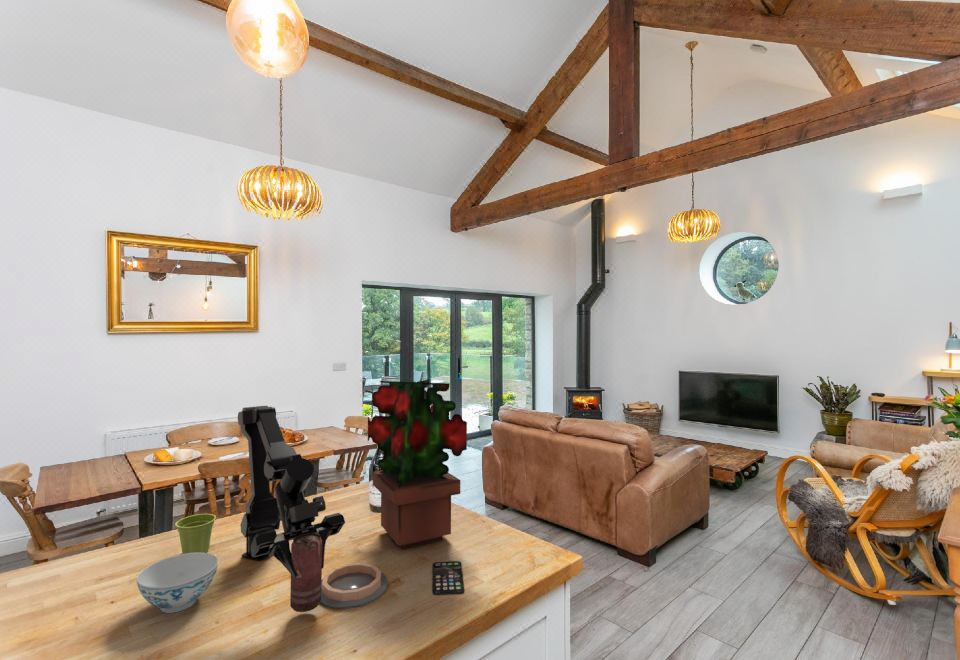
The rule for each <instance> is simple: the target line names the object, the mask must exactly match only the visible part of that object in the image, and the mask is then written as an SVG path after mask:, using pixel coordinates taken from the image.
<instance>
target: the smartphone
mask: <svg viewBox="0 0 960 660" xmlns="http://www.w3.org/2000/svg"><path fill="white" fill-rule="evenodd" d="M431 584H432V585H431V586H432V587H431V588H432V590H431V592H432V593H431V594H432V596H433V595H434V596H445V595H446V596H447V595H451V596H452V595H462V594H464V593H465V584H464V574H463V566H462V562H461V561H459V560H455V561H454V560H452V561H435V562H433V563H432V583H431Z"/></svg>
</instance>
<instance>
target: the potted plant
mask: <svg viewBox="0 0 960 660" xmlns="http://www.w3.org/2000/svg"><path fill="white" fill-rule="evenodd" d="M379 382H380V383H382V384H385V385H379V387H378V389H377V390H375V391H374V392H373V393H372V395H371V403H372V406H374V407H375V408H376V409H377V410H378V412H379V413H380V414H385V415H374V416H373V417H372V419H371V420H370V417H369V416H367V442H369V441H370V439H371V440H372V443H374V444H375V445H376V446H377V448H378V449H379V450H381V451H383V458H380V459H378V461H377V466H378V468H379V469H381V470H375V471H372V485H373V486H374V488H375V489H376V490H378V492H380V526H381V527H382V528H383V529H384V530H385V532H386V533H387V535H389V537H390V538H391V539H392V540H393V541H394V543H395V544H396V545H397V546H398V547H401V548H402V550H403V549H407V547H408V548H411V546H412V547H416V545H417V546H420V544H421V545H424V543H425V544H428V542H430V543H433V541H434V542H438V541H442V540H443V536H444V537H445V536H448V535H451V534H452V496H456V495H460V494H461V479H459V478H458V477H457V476H455V475H453V474H451V473H449V472H450V469H449V466H448V465H446V464H445V462H447V461H449V458H450V456H449V453H448V452H447V451H444V450H450V451H451V453H452V455H453V456H455V457H460V456H461V455H462V453H463V451H466V450H468V449H467V447H468V444H467V443H468V442H467V441H468V436H467V435H468V422H467V421H466V420H463V417H462V415H460V414H459V413H455V414H453V415H452V417H451V419H450V412H452V411H455V409H456V408H457V406H456V403H455V402H454V401H452V400H445V399H444V398H443V396H442V394H441V393H440V394H439V393H438V392H447V391H449V389H450V383H447V382H444V383H443V382H430V378H428V379H424V380H418V381H398V380H397V381H391V380H379ZM386 384H389V385H386ZM430 385H431V387H429V386H430ZM425 388H427V390H426V389H425ZM386 414H387V415H386ZM441 539H442V540H441ZM437 540H438V541H437Z"/></svg>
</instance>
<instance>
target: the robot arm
mask: <svg viewBox="0 0 960 660" xmlns="http://www.w3.org/2000/svg"><path fill="white" fill-rule="evenodd" d="M237 424H238V426H240V432H241V433H242V435H243V436H244V437H245V438H246V440H247V445H248V446H247V447H248V462H249V477H250V497H249V500H248V501H247V503H246V505H245V508H244V509H245V510H244V511H245V513H244V514H243V516H242V519H241V522H240V532H241V534H242V535H243V536H244V538H245V539H246V540H245V541H246V547H245V549H246V550H245V551H246V552H244V553H243V554H241V558H244V559H249V560H254V561H259V562H260V561H263V560H264V559H266V558H268V557H274V558H275V559H276V560H277V561H278V562H280V563H281V564H282V566H284V568H285V569H286V570H287V571H288V572H289V574H290V576H291V575H292V576H293V577H294V578H295V577H296V576H297V573H296V571H295V569H294V566H293V562H292V557H291V549H290V548H291V547H290V542H291V541H293V540H294V538H295V537H297V536H299V535H302V534H306V533H316V534H319V535H320V537H321V539H322V565H321V569H322V570H323V569H324V564H325V553H326V552H325V551H326V543H327V542H326V541H327V540H328V538H329V537H331V536H335V535H337V534H339V533H340V532H341V530H342V529H343V527H344V526H345V524H346V520H345V518H344V515H342V513H340V512H336V513H331V514H328V515H325V516H324V517H323V519H322V520H321V522H318V523H316V524H313V523H314V522H315V520H316V518H318V517H319V516H320V515H319V513H322V512H324V511H326V509H327V506H326V501H325V498H324V495H320V496H315V497H313V498H312V501H310V502H309V501H308V499H306V497H305V493H304V491H305V490H306V488H307V487H308V484H309V483H310V480H311V479H312V476H313V474H314V472H315V467H314V464H313V463H312V462H311V461H310V460H309V459H306V458H304V457H302V454H301V453H297V452H296V449H295V448H294V447H292V446H290V445H289V444H287V442H286V440H285V438H284V434H283V433H282V429H281V426H280V424H279V422H278V419H277V410H276V408H275V407H274V406H268V405H259V406H249V407H243V408H242V410H241V411H238V414H237ZM274 481H275V482H277V481H279V482H277V483H276V485H275V486H274V495H273V493H271V488H270V487H271V486H270V482H274ZM280 525H282V528H283V531H282V532H279V533H277V531H276V530H279V529H280Z"/></svg>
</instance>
